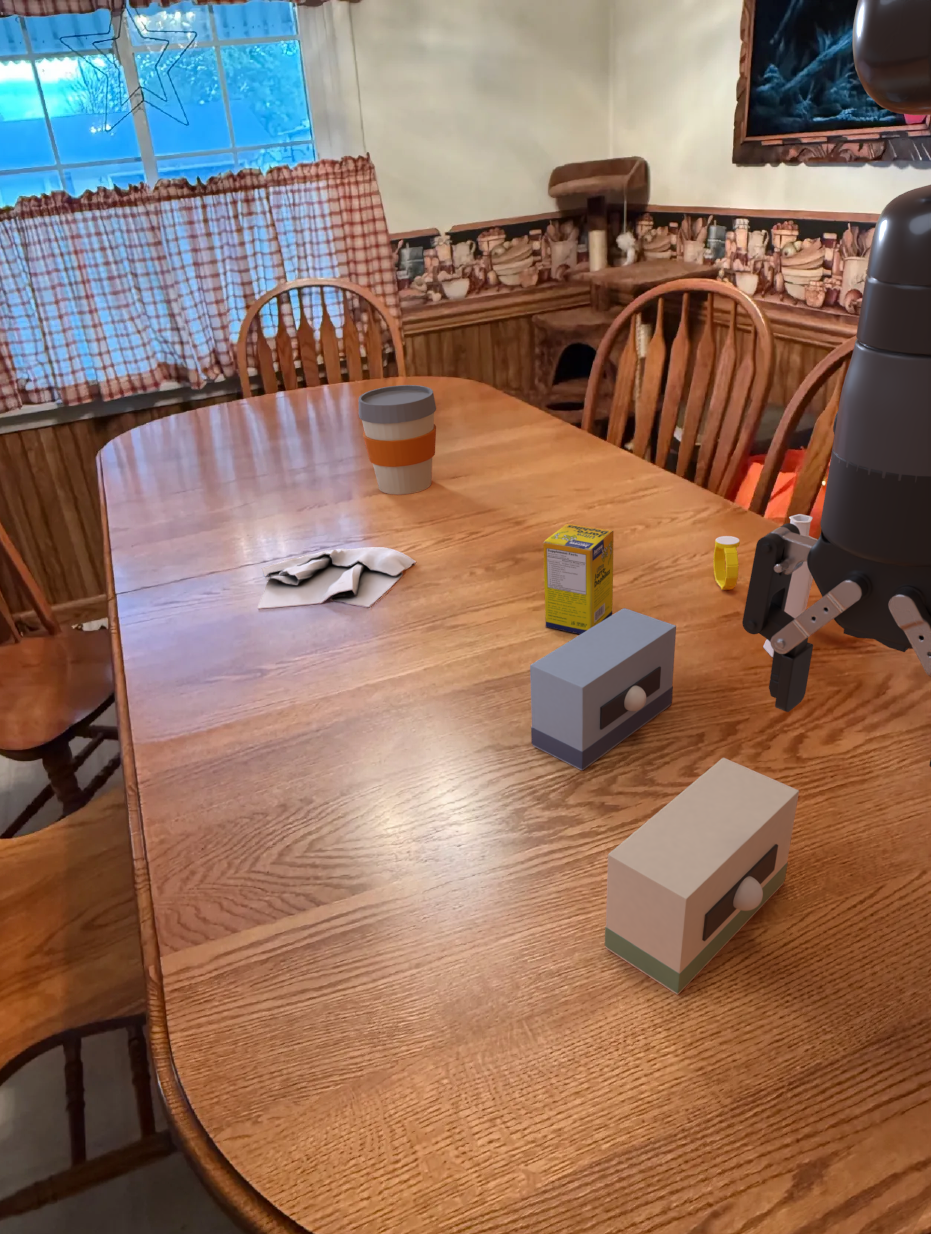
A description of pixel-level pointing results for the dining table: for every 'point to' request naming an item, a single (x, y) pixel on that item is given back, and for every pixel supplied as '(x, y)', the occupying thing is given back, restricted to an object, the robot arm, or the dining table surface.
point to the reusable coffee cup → (400, 436)
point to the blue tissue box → (601, 687)
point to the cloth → (334, 577)
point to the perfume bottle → (797, 579)
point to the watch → (726, 549)
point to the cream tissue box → (698, 872)
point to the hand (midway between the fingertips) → (861, 732)
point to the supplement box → (578, 577)
